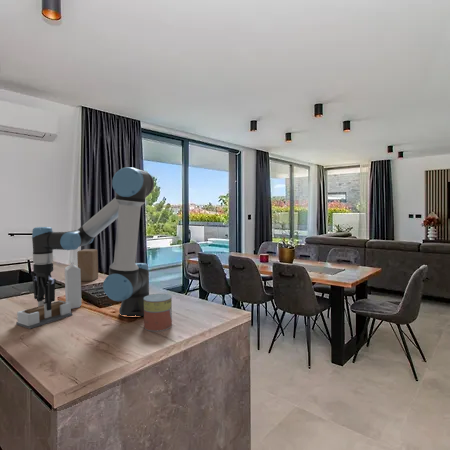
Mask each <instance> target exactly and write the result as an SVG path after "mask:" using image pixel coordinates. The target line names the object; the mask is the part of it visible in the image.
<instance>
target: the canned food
mask: <svg viewBox="0 0 450 450" xmlns="http://www.w3.org/2000/svg"><path fill="white" fill-rule="evenodd" d="M143 299H144V317H143V329H144V330H145V331H148V332H165V331H166V330H169V329H171V328H172V327H173V317H172V316H173V313H172V310H173V309H172V306H173V305H172V304H173V303H172V302H173V301H172V299H173V296H172V295H171V294H168V293H153V294H149V295H148V296H145V297H144V298H143Z"/></svg>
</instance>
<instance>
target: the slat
mask: <svg viewBox="0 0 450 450" xmlns="http://www.w3.org/2000/svg"><path fill="white" fill-rule="evenodd" d="M56 301H57V302H56ZM56 301H53V302H54V303H52V302H51V316H52V317H53V316H56V315H59V314H60V305H62V304H63V302H59V301H60V300H56ZM24 310H25V313H28V314H30V313H34V312H39V321H40V320H43V319H47V318H44V305H43V306H39V307H38V306H36V307H33V308H29V309H28V310H27V309H24ZM49 318H50V317H49Z"/></svg>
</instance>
